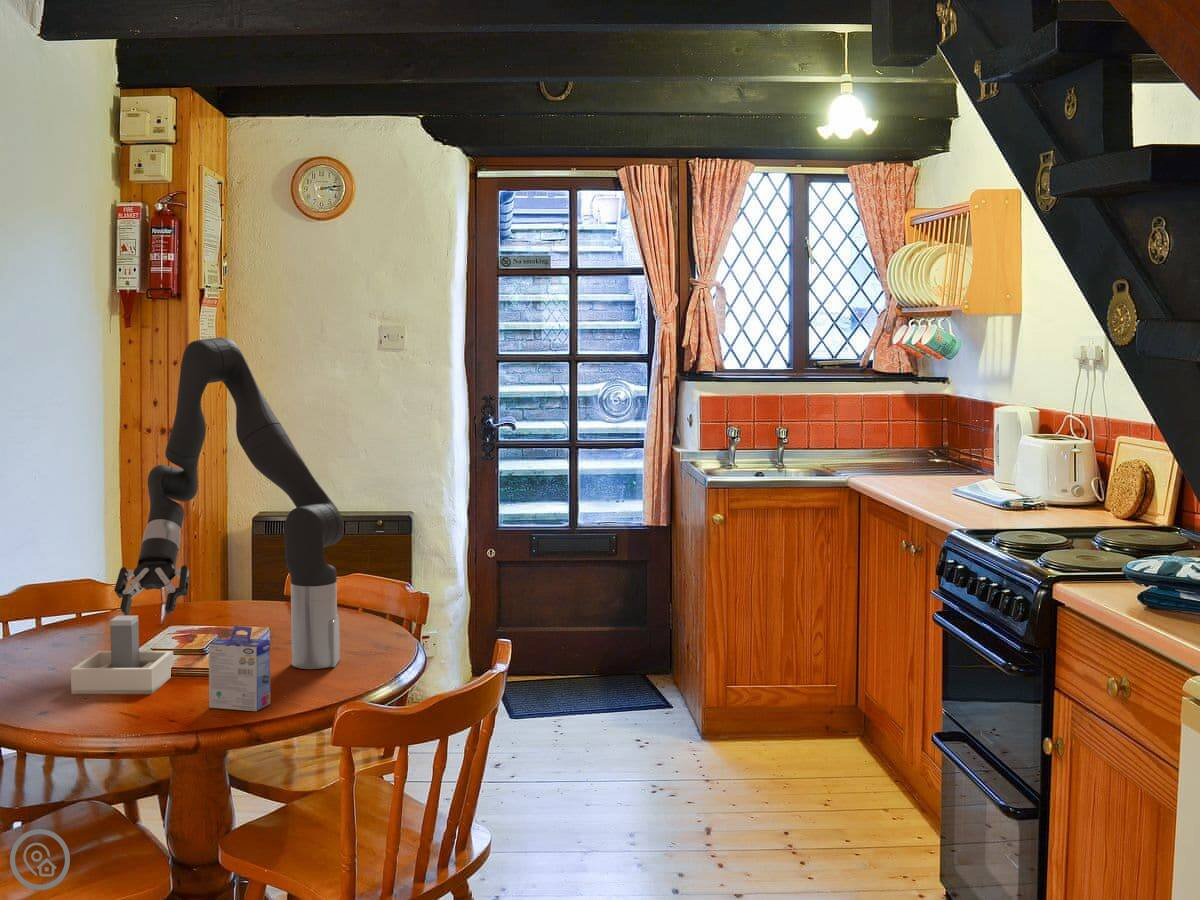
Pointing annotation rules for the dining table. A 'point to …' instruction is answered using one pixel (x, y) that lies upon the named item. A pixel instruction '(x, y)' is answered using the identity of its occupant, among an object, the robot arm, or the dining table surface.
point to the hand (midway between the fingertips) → (146, 612)
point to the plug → (124, 642)
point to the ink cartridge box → (239, 672)
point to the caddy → (121, 674)
